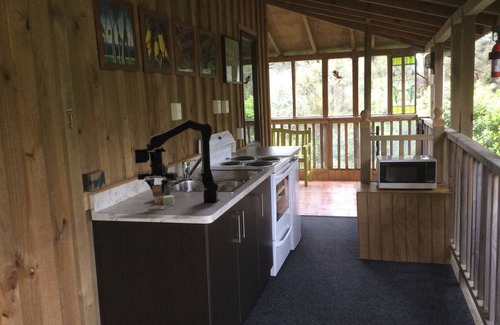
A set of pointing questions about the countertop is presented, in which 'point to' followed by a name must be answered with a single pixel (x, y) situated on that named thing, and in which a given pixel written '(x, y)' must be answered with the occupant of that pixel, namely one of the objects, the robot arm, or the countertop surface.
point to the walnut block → (157, 190)
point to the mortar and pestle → (167, 189)
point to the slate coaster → (159, 207)
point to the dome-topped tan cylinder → (158, 200)
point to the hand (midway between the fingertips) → (158, 193)
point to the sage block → (168, 200)
